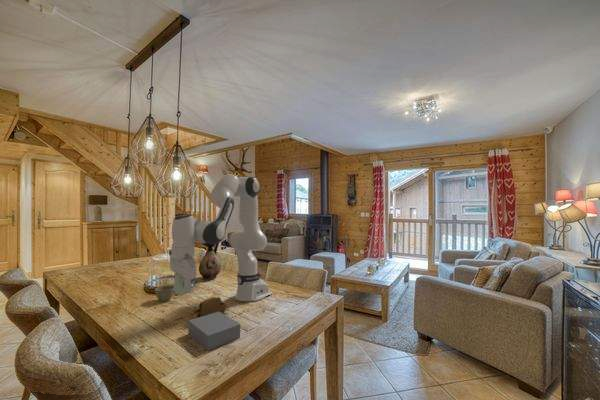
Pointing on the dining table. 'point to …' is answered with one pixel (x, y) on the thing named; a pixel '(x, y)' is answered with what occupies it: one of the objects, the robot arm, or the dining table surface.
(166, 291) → the flower pot
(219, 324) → the slate block
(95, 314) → the dining table surface
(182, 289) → the sage block
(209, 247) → the ceramic jug
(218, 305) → the wooden carving
